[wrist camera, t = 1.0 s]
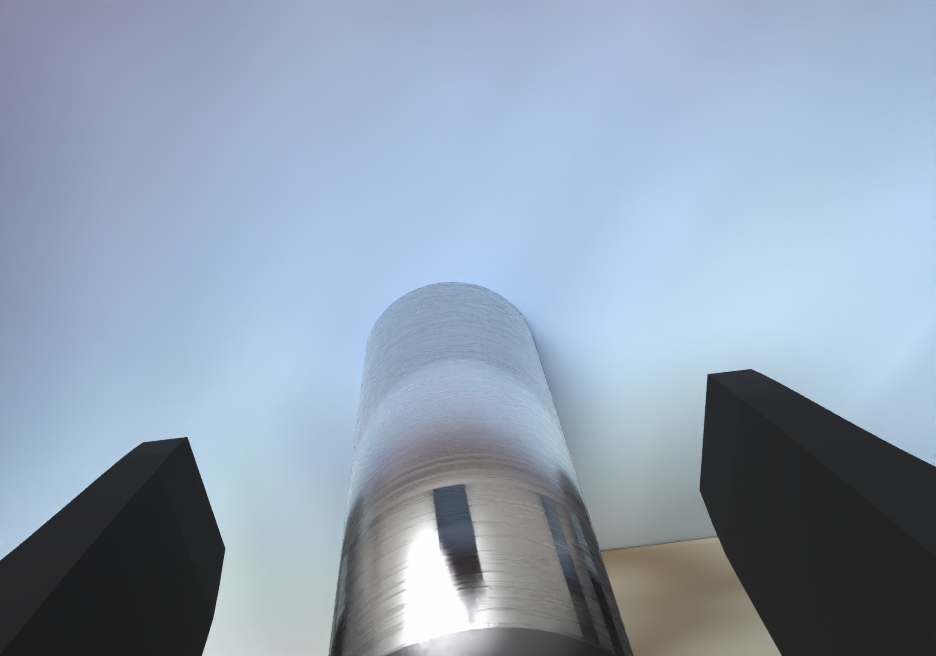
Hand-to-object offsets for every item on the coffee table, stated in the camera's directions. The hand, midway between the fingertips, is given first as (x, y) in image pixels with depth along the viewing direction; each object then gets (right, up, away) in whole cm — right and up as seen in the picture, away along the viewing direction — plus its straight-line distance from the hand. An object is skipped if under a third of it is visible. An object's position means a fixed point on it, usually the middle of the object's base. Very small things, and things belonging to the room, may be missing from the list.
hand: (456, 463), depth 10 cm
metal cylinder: (0, +1, +3) cm, 3 cm away
